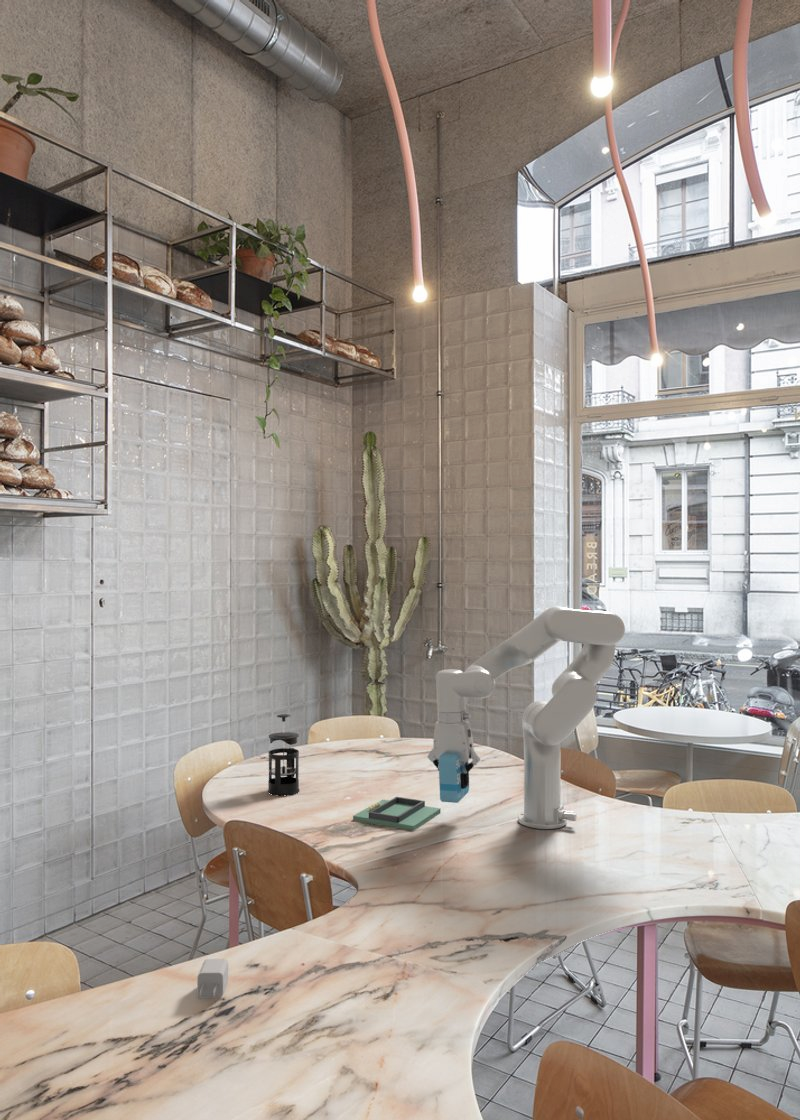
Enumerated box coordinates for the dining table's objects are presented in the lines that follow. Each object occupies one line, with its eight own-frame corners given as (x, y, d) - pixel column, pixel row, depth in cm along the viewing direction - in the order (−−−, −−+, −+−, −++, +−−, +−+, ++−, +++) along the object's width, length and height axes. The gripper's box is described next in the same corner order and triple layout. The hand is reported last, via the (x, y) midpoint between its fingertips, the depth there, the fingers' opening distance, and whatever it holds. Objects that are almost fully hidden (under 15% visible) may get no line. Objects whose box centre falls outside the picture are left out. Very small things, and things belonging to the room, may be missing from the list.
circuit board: (440, 812, 217) (440, 803, 217) (413, 830, 203) (413, 820, 203) (382, 803, 226) (382, 794, 226) (353, 820, 211) (353, 810, 211)
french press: (291, 798, 231) (291, 718, 231) (261, 795, 233) (261, 717, 233) (306, 787, 242) (306, 711, 242) (277, 785, 245) (277, 710, 245)
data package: (456, 804, 202) (454, 757, 202) (439, 803, 204) (438, 756, 204) (469, 791, 213) (467, 746, 214) (453, 790, 215) (451, 745, 215)
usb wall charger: (228, 983, 129) (228, 958, 129) (219, 1007, 122) (220, 981, 122) (203, 983, 129) (203, 959, 129) (193, 1007, 122) (193, 981, 122)
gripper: (487, 716, 208) (490, 785, 208) (428, 712, 216) (431, 779, 216) (476, 721, 202) (479, 793, 201) (416, 718, 209) (419, 787, 209)
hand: (454, 785), depth 209 cm, fingers closed on data package, 4 cm apart
